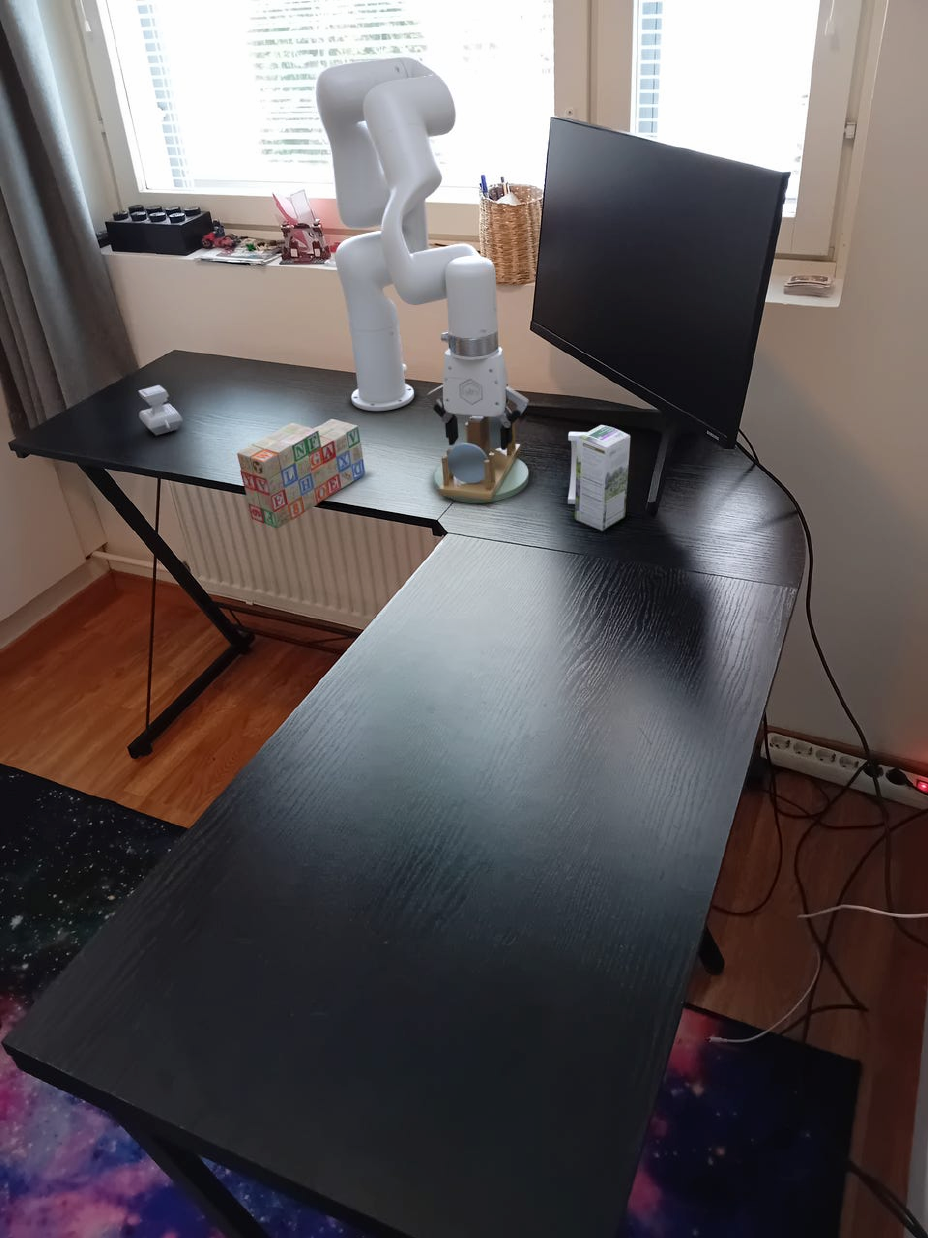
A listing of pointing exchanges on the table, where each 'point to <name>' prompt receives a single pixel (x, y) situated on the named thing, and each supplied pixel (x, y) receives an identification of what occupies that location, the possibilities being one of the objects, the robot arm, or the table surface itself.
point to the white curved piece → (573, 465)
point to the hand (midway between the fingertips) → (479, 443)
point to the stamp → (159, 411)
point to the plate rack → (478, 461)
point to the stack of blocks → (299, 469)
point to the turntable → (509, 486)
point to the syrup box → (601, 476)
